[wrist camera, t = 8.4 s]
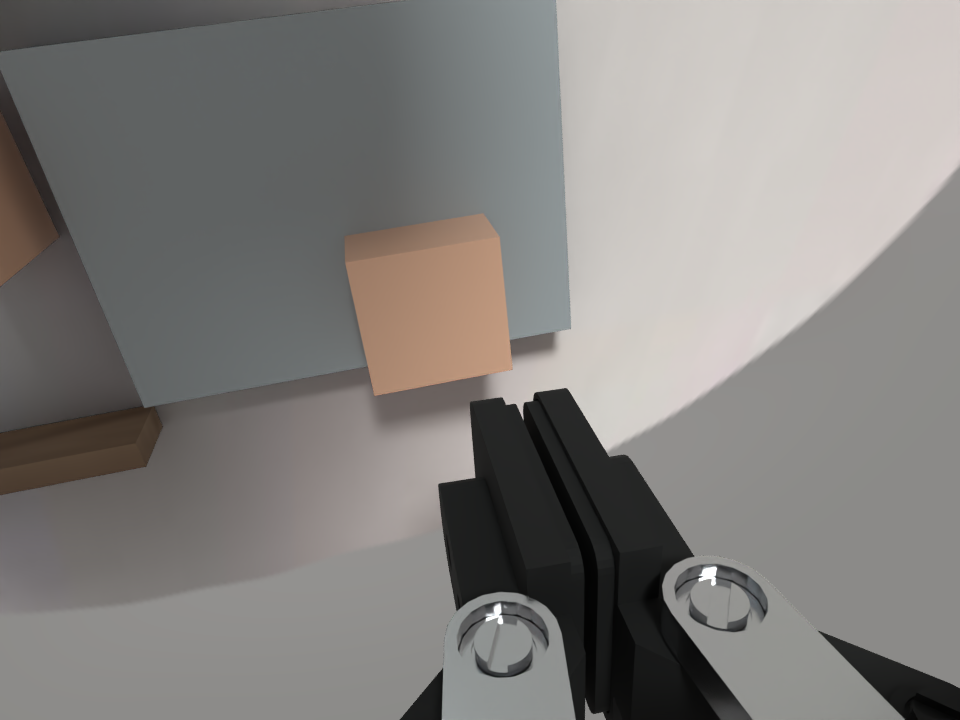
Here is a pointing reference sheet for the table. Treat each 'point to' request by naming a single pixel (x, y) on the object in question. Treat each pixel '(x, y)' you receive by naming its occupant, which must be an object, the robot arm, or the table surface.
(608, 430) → the table surface
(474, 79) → the board
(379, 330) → the tile
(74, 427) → the tray
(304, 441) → the table surface
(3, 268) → the tile
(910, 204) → the table surface
